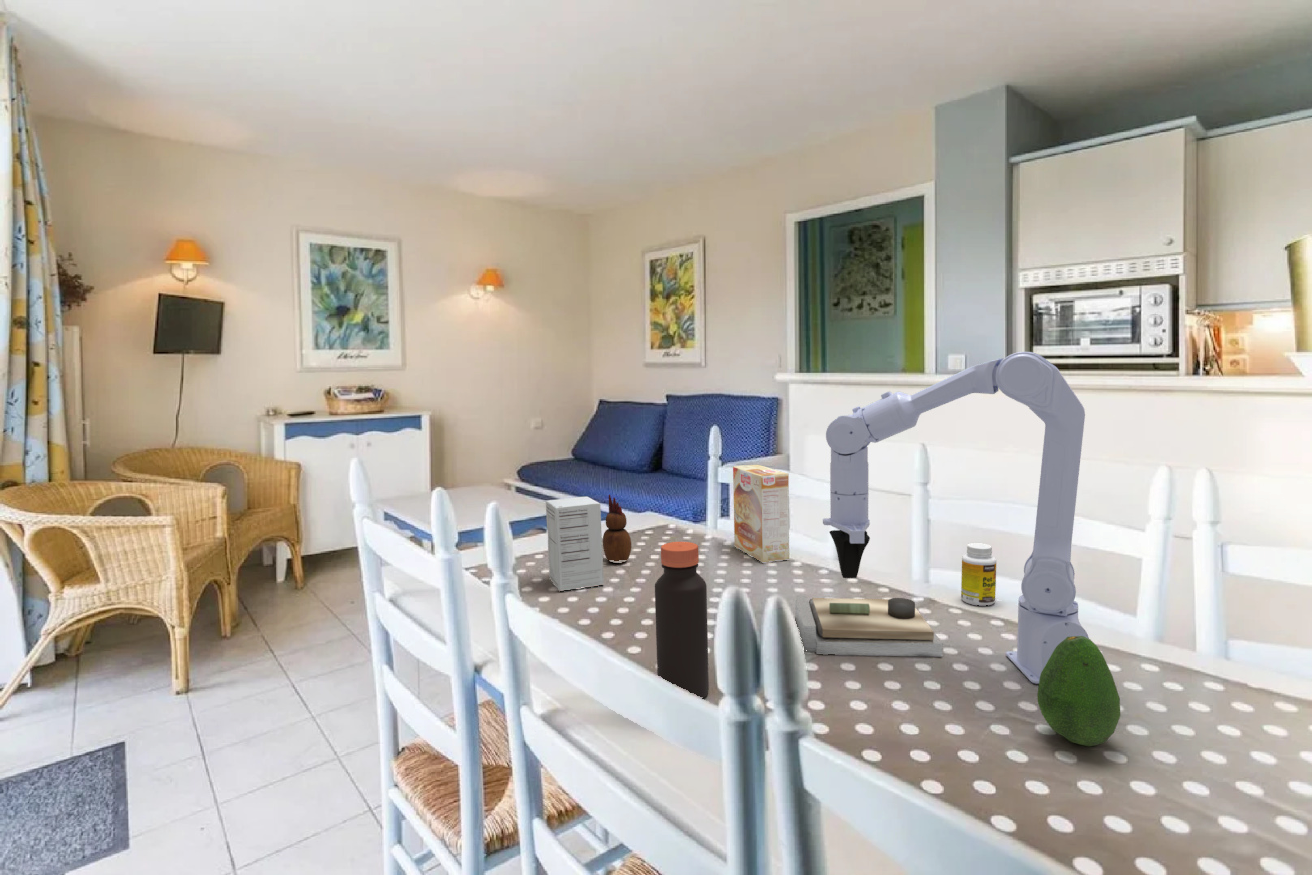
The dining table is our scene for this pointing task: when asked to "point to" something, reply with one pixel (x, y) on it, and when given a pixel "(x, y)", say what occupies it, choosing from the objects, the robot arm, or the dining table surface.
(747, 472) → the coffeecake box
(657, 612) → the vinegar
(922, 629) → the plate
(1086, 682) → the avocado
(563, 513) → the supplement box
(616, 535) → the wooden figurine
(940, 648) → the level base
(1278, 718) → the dining table surface
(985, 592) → the supplement bottle
